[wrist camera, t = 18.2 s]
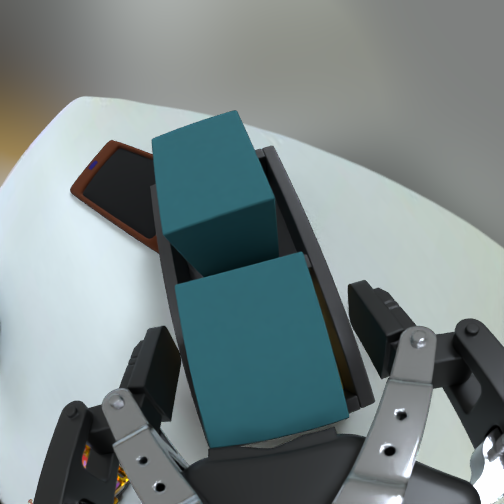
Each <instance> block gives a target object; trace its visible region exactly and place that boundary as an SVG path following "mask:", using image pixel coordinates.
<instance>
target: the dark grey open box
mask: <svg viewBox="0 0 504 504" xmlns="http://www.w3.org/2000/svg"><path fill="white" fill-rule="evenodd" d="M255 152H256V154H257V157H258V159H259V161H260V164H261V166H262V168H263V170H264V173H265V175H266V178H267V180H268V182H269V185H270V187H271V189H272V192H273V194H274V197H275V206H276V219H277V232H278V246H279V257H283V256H287V255H291V254H294V253H298V252H303V254H304V257H305V260H306V263H307V266H308V269H309V273H310V276H311V279H312V282H313V285H314V289H315V292H316V295H317V298H318V302H319V305H320V308H321V312H322V315H323V318H324V322H325V325H326V329H327V332H328V336H329V339H330V343H331V346H332V350H333V354H334V357H335V361H336V365H337V369H338V372H339V376H340V380H341V384H342V388H343V392H344V396H345V400H346V404H347V408H348V412H349V413H352V412H354V411H357V410H359V409H360V407H361V408H364V407H366V406H368V405H370V404H373V403H374V402H375V399H374V396H373V392H372V389H371V386H370V383H369V379H368V376H367V373H366V370H365V367H364V364H363V361H362V358H361V355H360V352H359V349H358V346H357V343H356V340H355V337H354V334H353V331H352V328H351V326H350V323H349V320H348V317H347V315H346V312H345V309H344V307H343V304H342V301H341V299H340V296H339V293H338V291H337V288H336V286H335V283H334V280H333V278H332V275H331V273H330V270H329V268H328V265H327V263H326V260H325V258H324V256H323V253H322V251H321V248H320V246H319V244H318V241H317V239H316V237H315V234H314V232H313V230H312V227H311V225H310V223H309V220H308V218H307V216H306V214H305V211H304V209H303V207H302V205H301V203H300V200H299V198H298V196H297V194H296V192H295V189H294V187H293V185H292V183H291V181H290V179H289V177H288V175H287V173H286V170H285V168H284V166H283V164H282V162H281V160H280V158H279V156H278V154H277V152H276V150H275V148H274V146H269V147H265V148H263V149H258V150H255ZM150 188H151V197H152V206H153V214H154V222H155V229H156V236H157V243H158V249H159V255H160V261H161V267H162V273H163V278H164V283H165V289H166V294H167V299H168V304H169V308H170V313H171V317H172V322H173V326H174V331H175V335H176V339H177V343H178V347H179V351H180V355H181V359H182V363H183V366H184V370H185V374H186V377H187V381H188V384H189V388H190V391H191V395H192V398H193V401H194V404H195V408H196V411H197V414H198V417H199V420H200V423H201V426H202V429H203V432H204V435H205V438H206V440H207V443H208V439H207V436H206V432H205V429H204V425H203V421H202V418H201V414H200V410H199V406H198V402H197V398H196V394H195V390H194V386H193V382H192V377H191V373H190V368H189V364H188V359H187V354H186V349H185V344H184V339H183V334H182V328H181V323H180V317H179V312H178V306H177V300H176V293H175V285H177V284H181V283H185V282H189V281H192V280H196V279H200V278H204V277H203V276H202V275H201V274H200V273H199V272H198V271H197V270H196V269H195V268H194V267H193V266H192V265H191V264H190V263H189V262H188V261H187V260H186V259H185V258H184V257H183V256H182V255H181V254H180V253H179V252H178V251H177V249H176V248H175V247H174V246H173V245H172V244H171V243H170V242H169V241H168V240H167V239H166V238H165V237H164V236H163V233H162V226H161V219H160V212H159V205H158V198H157V190H156V184H154V185H152V186H150ZM265 441H266V440H265ZM260 442H262V441H260ZM254 443H258V442H254ZM249 444H253V443H248V444H242V445H235V446H228V447H237V446H244V445H249ZM208 446H209V443H208ZM228 447H219V448H228ZM209 449H216V448H210V446H209Z"/></svg>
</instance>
